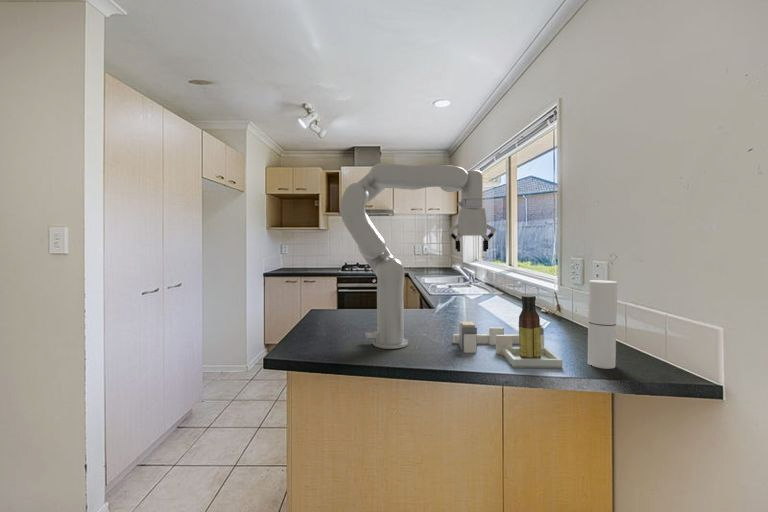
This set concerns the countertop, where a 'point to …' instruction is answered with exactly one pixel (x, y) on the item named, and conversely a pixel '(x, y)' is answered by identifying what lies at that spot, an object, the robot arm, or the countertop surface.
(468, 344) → the clip rack
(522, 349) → the sauce bottle
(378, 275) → the robot arm
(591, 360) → the cylindrical container
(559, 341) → the countertop surface
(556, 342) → the countertop surface
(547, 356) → the tray
